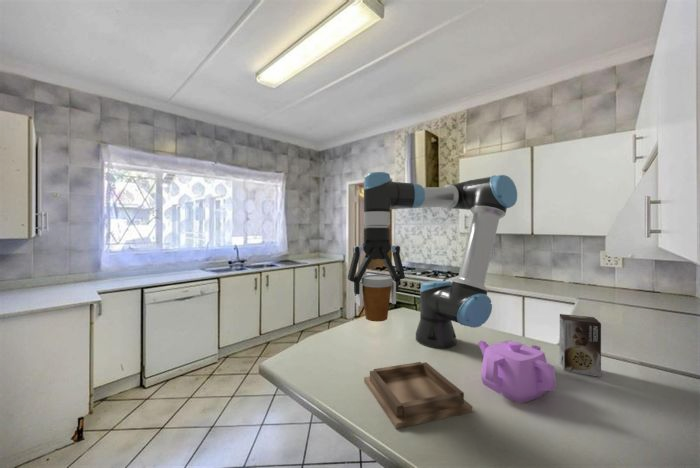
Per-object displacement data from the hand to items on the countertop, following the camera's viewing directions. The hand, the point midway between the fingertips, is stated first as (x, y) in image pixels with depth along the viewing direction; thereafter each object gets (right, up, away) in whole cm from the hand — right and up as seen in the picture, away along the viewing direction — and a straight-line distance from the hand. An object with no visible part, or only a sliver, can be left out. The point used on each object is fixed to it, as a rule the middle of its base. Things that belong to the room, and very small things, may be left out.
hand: (376, 304), depth 83 cm
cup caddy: (+9, -22, -8) cm, 25 cm away
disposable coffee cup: (0, -4, 0) cm, 4 cm away
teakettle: (+38, -22, -4) cm, 44 cm away
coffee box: (+63, -22, +6) cm, 67 cm away
